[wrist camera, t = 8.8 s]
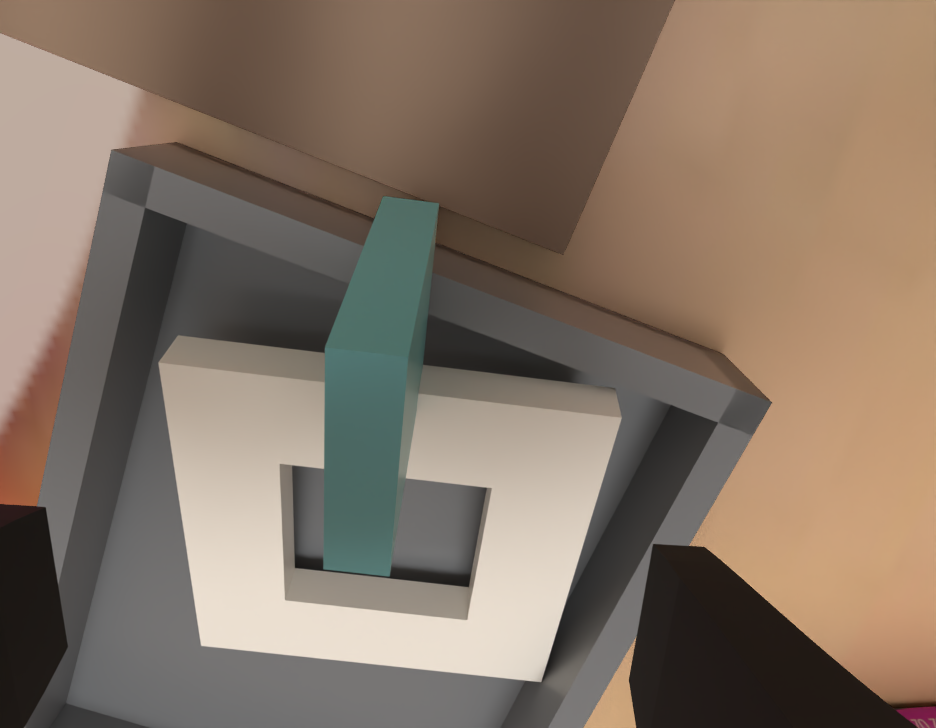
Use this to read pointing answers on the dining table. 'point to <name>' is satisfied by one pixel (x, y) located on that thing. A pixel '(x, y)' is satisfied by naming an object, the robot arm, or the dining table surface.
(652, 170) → the dining table surface
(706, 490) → the charcoal tray
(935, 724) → the candy bar box
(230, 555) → the cream ring
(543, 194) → the walnut plate
